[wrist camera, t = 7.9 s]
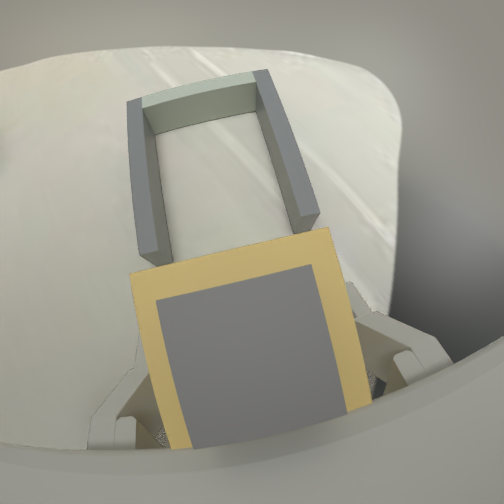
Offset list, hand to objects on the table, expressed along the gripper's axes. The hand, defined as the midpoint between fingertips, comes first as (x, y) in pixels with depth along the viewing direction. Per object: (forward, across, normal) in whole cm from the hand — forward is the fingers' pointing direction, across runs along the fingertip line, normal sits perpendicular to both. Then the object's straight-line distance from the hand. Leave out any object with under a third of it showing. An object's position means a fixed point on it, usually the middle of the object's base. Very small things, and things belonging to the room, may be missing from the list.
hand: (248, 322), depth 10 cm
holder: (+11, 0, -2) cm, 12 cm away
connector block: (+3, 0, +4) cm, 5 cm away
